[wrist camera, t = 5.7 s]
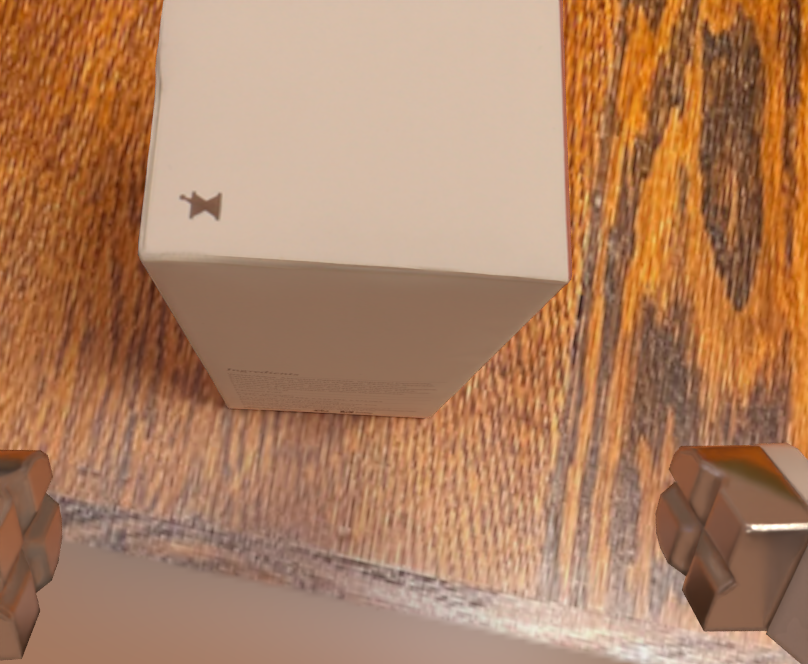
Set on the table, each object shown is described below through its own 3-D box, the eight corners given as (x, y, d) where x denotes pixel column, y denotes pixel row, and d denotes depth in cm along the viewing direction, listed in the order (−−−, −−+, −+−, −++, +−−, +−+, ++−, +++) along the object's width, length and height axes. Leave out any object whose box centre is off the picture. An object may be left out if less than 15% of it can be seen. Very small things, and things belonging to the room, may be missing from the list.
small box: (433, 421, 23) (581, 293, 11) (223, 411, 23) (120, 263, 10) (437, 181, 25) (565, -159, 13) (245, 165, 25) (183, -210, 12)
